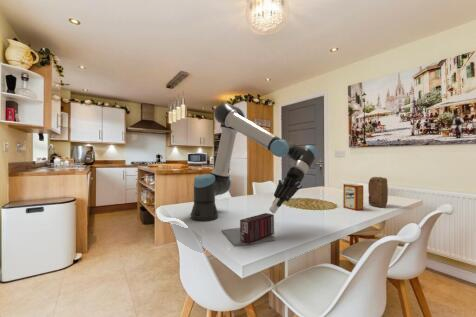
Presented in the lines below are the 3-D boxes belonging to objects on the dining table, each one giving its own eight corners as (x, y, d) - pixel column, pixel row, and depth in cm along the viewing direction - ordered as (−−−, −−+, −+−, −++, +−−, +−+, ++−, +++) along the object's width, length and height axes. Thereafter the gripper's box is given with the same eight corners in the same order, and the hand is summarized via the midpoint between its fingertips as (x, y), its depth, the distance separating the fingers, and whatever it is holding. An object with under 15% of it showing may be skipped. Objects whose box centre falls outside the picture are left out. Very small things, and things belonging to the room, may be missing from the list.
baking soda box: (343, 207, 145) (343, 183, 145) (349, 206, 148) (349, 183, 148) (356, 210, 136) (356, 185, 136) (363, 209, 139) (363, 184, 139)
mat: (221, 231, 98) (221, 229, 98) (255, 227, 104) (255, 225, 104) (234, 246, 81) (234, 244, 81) (274, 240, 87) (274, 239, 87)
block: (388, 207, 146) (389, 177, 146) (380, 208, 143) (381, 178, 143) (374, 204, 156) (374, 176, 156) (366, 204, 154) (366, 176, 153)
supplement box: (265, 212, 96) (239, 219, 85) (274, 214, 92) (248, 221, 82) (266, 232, 96) (239, 241, 85) (274, 234, 92) (248, 244, 82)
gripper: (312, 178, 100) (287, 220, 91) (290, 176, 111) (266, 213, 101) (305, 166, 97) (278, 209, 88) (283, 165, 108) (257, 203, 98)
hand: (272, 211), depth 94 cm, fingers closed
